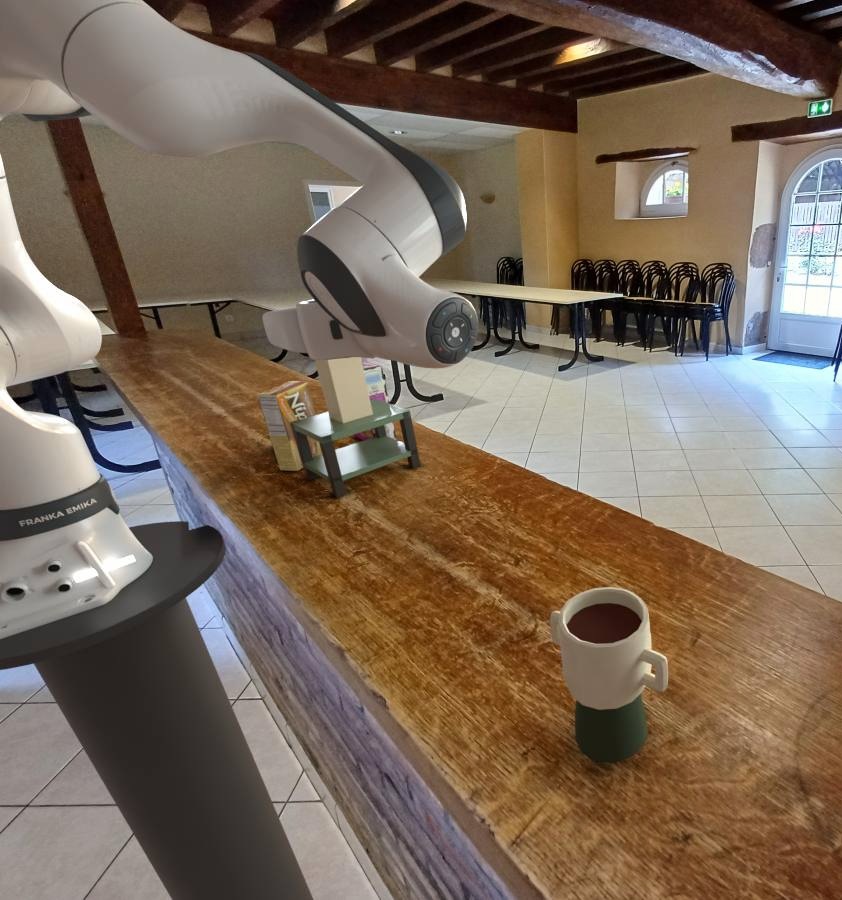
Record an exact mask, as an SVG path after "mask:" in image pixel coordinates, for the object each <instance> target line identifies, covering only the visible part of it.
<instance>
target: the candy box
mask: <svg viewBox="0 0 842 900" xmlns="http://www.w3.org/2000/svg"><path fill="white" fill-rule="evenodd" d="M310 391H311V390H310V387H309V383H308V381H303V380H290V381H286V382H285V383H282V384H280V385H277V386H275V387H273V388H270V389H268V390H265V391H263V392H261V393H258V395H257V397H258V398H259V400H260V403H259V405H260V404H261V406H260V408H261V407H262V410H263V413H262V415H263V414H264V416H263V418H264V417H265V420H264V422H265V421H266V423H265V425H266V424H267V427H268V430H269V433H268V435H269V434H270V437H271V440H270V442H271V441H272V443H271V445H272V444H273V446H272V448H273V450H274V455H275V457H276V460H277V464H278V467H279V470H280V471H285V472H286V471H287V472H288V471H291V472H298V471H300V470H301V469H304V468H303V465H302V462H301V458H300V455H299V451H298V448H297V444H296V441H295V437H294V434H293V430H292V427H291V424H290V422H293V421H296V420H300V419H304V418H307V417H311V416H314V415H317V414H316V411H315V406H314V403H313V399H312V395H311V392H310ZM259 400H258V401H259ZM262 410H261V411H262ZM267 427H266V428H267ZM268 430H267V431H268ZM270 437H269V438H270ZM307 438H308V442H309V446H310V449H311V453H312V456H313V457H315V456H318V455H321V454H322V451H321V448H320V444H319V442H318V441H316V440H314V439H312V438H310V437H308V436H307Z"/></svg>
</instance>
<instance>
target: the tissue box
mask: <svg viewBox="0 0 842 900" xmlns="http://www.w3.org/2000/svg"><path fill="white" fill-rule="evenodd" d="M361 361H362V357H351V358H339V359H331V360H314V363H315V367H316V370H317V375H318V377H319V382H320V386H321V389H322V394H323V398H324V401H325V405H326V409H327V412H328V413H329V417H330V418H332V419H334V420H337V421H339V422H341V423H346V422H350V421H353V420H356V419H360V418H363V417H366V416H370V415H373V411H372V407H371V402H370V398H369V394H368V389H367V385H366V380H365V376H364V372H363V367H362V363H361Z"/></svg>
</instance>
